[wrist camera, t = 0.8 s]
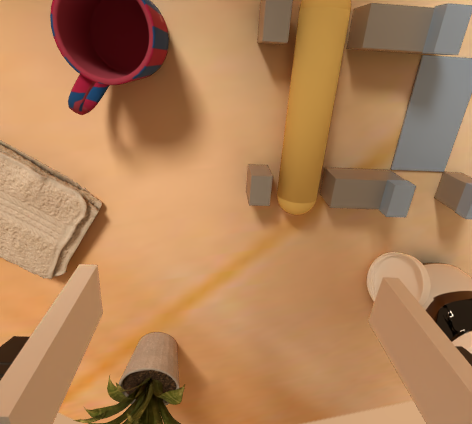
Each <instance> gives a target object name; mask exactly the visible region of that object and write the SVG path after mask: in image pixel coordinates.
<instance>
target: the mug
mask: <svg viewBox="0 0 472 424" xmlns="http://www.w3.org/2000/svg"><path fill="white" fill-rule="evenodd" d="M50 17H51V28H52V32H53V36H54V39H55V42H56V44H57V47H58V48H59V50H60V52H61V54H62V56H63V57H64V58H65V59H66V61H67V62H68V63H69V64H70V65H71V66H72V67H73V68H74V69H75V70H76V71H77V72H78V73H80V75H79V77H78V79H77V80H76V82H75V84H74V86H73V88H72V91H71V93H70V96H69V100H68V105H69V108H70V109H71V110H72V111H74V112H75V113H78V114H80V115H84V114H86V113H88V112H90V111H91V110H92V109H93V108H94V107H95V106H96V105H97V104H98V102H99V101H100V99H101V98H102V96H103V95H104V93H105V92H106V90H107V89H108V87H109V85H119V84H124V83H128V82H131V81H135V80H138V79H142V78H145V77H148V76H150V75H151V74H153V73H154V72H156V71H157V70H158V69H159V68H160V66H161V65H162V63H163V62H164V60H165V57H166V55H167V51H168V43H169V38H168V30H167V27H166V23H165V21H164V18H163V16H162V15H161V13H160V11H159V10H158V8H157V7H156V6H155V5H154V4H153V3H152V2H151V1H150V0H53V2H52V5H51V15H50Z"/></svg>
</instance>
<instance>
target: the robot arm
mask: <svg viewBox="0 0 472 424" xmlns="http://www.w3.org/2000/svg"><path fill="white" fill-rule="evenodd" d="M102 314H103V309H102V300H101V292H100V283H99V274H98V265H88V264H79V265H78V267H77V268H76V270H75V271H74V273H73V274H72V276H71V277H70V279H69V280H68V282H67V283H66V285H65V286H64V288H63V289H62V291H61V292H60V294H59V295H58V296H57V298H56V299H55V301H54V302H53V304H52V305H51V307H50V308H49V310H48V311H47V313H46V314H45V316H44V317H43V319H42V320H41V322H40V323H39V324H38V326H37V327H36V329H35V330H34V332H33V333H32V335H31V336H30V337H18V336H14V337H12V338H11V339H10V340H9V341H7V342H6V343H5V344H3V345H2V346H1V347H0V424H53V422H54V420H55V418H56V415H57V413H58V411H59V409H60V407H61V404H62V402H63V400H64V398H65V396H66V393H67V391H68V389H69V387H70V385H71V382H72V380H73V378H74V376H75V374H76V371H77V369H78V367H79V365H80V363H81V360H82V358H83V356H84V354H85V352H86V349H87V347H88V345H89V343H90V340H91V338H92V336H93V334H94V332H95V329H96V327H97V325H98V323H99V321H100V318H101V316H102ZM368 323H369V324H370V326H371V328H372V330H373V331H374V333H375V335H376V337H377V338H378V340H379V342H380V344H381V345H382V347H383V349H384V351H385V352H386V354H387V356H388V358H389V359H390V361H391V363H392V364H393V366H394V368H395V370H396V371H397V373H398V375H399V377H400V378H401V380H402V382H403V384H404V385H405V387H406V389H407V391H408V392H409V394H410V396H411V397H412V399H413V401H414V403H415V404H416V406H417V408H418V410H419V411H420V413H421V415H422V417H423V418H424V420H425V422H426V424H472V354H471V353H470V352H469V351H467V350H466V349H465V348H463V347H462V346H454V344H453V343H452V342H451V341H450V339H449V338H448V337H447V336H446V335H445V333H444V332H443V331H442V330H441V329H440V327H439V326H438V325H437V324H436V323H435V321H434V320H433V319H432V318H431V317H430V315H429V314H428V313H427V312H426V311H425V309H424V308H423V307H422V306H421V305H420V303H419V302H418V301H417V300H416V299H415V297H414V296H413V295H412V294H411V293H410V291H409V290H408V289H407V288H406V287H405V285H404V284H403V283H402V282H401V281H400V279H399V278H390V277H383V278H382V281H381V284H380V287H379V290H378V293H377V296H376V299H375V302H374V304H373V307H372V310H371V313H370V316H369V319H368Z"/></svg>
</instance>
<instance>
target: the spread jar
mask: <svg viewBox="0 0 472 424" xmlns="http://www.w3.org/2000/svg"><path fill="white" fill-rule="evenodd" d="M383 277H390V278H399V279H400V281H401V282H402V283H403V284H404V285H405V287H406V288H407V289H408V290H409V291H410V293H411V294H412V295H413V296H414V297H415V299H416V300H417V301H418V302H419V303H420V305H421V306H422V307H423V308H424V309H425V311H426V312H427V313H428V314H429V315H430V317H431V318H432V319H433V320H434V321H435V323H436V324H437V325H438V326H439V327H440V329H441V330H442V331H443V332H444V333H445V335H446V336H447V337H448V338H449V339H450V341H451V342H452V343H453V344H454V346H462V347H463V348H465V349H466V350H467V351H469V352H470V353H471V354H472V278H471V277H470V276H469V275H468V274H466V273H465V272H464V271H462V270H461V269H459V268H457V267H455V266H452V265H448V264H443V263H423V264H422V263H421V262H420V261H419V260H418V259H416V258H415V257H413V256H411V255H408V254H404V253H400V252H388V253H385V254H382V255H381V256H379V257H378V258H376V259H375V260H374V262H373V263H372V264H371V266H370V268H369V270H368V274H367V288H368V292H369V294H370V297H371V298H372V300H373V301H374V302H375V299H376V296H377V293H378V290H379V287H380V284H381V281H382V278H383Z"/></svg>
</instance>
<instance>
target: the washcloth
mask: <svg viewBox="0 0 472 424" xmlns="http://www.w3.org/2000/svg"><path fill="white" fill-rule="evenodd" d="M101 205H102V202H101V201H100V200H98V199H97V198H96V197H93V196H92V194H90V192H89V191H88V190H87V189H86V188H84V187H81V186H80V185H79V184H78V183H75V182H74V181H73V180H71V179H70V178H68V177H67V176H65V175H63V174H61V173H59V172H58V171H56V170H54V169H52V168H50V167H49V166H47V165H45V164H43V163H41V162H39V161H38V160H36V159H34V158H32V157H30V156H29V155H27V154H25V153H23V152H22V151H20V150H18V149H16V148H14V147H12V146H11V145H9V144H7V143H5V142H3V141H1V140H0V257H1V258H3V259H5V260H7V261H9V262H10V263H14V264H17V265H19V267H21V268H23V269H25V270H28V271H29V272H31V273H33V274H37V275H39V276H40V277H43V278H48V279H52V278H53V277H54V276H60V275H63V274H64V273H65V272H67V271H66V269H67V265H68V263H69V261H70V259H71V257H72V255H73V254H74V252H75V251H76V249H77V247H78V245H79V244H80V242H81V240H82V238H83V237H84V235H85V234H86V232H87V230H88V229H89V227H90V225H91V224H92V222H93V221H94V219H95V217H96V216H97V214H98V212H99V210H100V208H101Z"/></svg>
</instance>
